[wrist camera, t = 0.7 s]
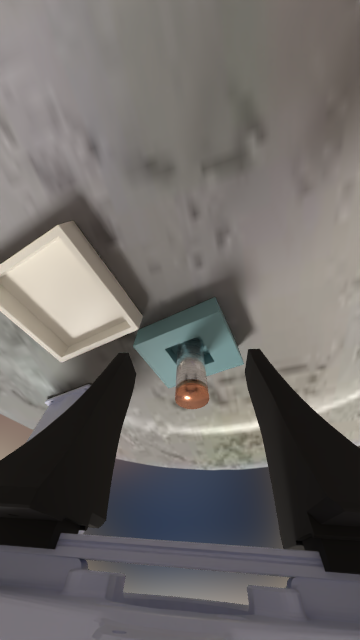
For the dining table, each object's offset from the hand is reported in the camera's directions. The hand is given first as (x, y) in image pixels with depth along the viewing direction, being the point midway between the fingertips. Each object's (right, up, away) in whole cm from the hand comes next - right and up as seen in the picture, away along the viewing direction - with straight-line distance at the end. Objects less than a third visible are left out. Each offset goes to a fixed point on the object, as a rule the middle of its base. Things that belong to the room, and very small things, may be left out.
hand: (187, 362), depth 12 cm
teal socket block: (+1, 0, +12) cm, 12 cm away
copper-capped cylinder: (+1, -1, +11) cm, 11 cm away
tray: (-12, +5, +9) cm, 16 cm away
